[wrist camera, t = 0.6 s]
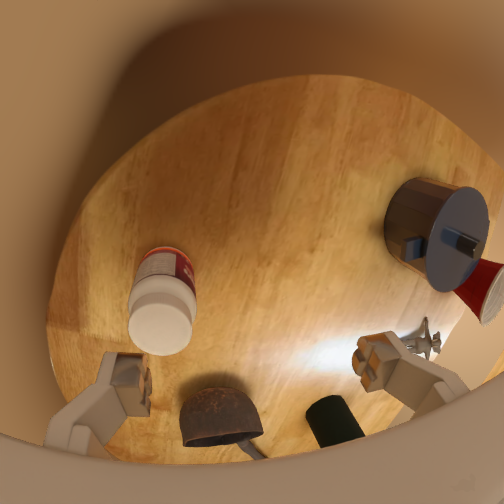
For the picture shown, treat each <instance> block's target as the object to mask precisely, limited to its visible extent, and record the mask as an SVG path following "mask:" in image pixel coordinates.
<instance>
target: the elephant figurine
mask: <svg viewBox="0 0 504 504" xmlns="http://www.w3.org/2000/svg"><path fill="white" fill-rule="evenodd" d="M402 343H403V344H404V345H405V346H407V345H410V346H407V347H412V348H409V349H408V350H409V351H410V353H415V354H421V353H423V352H424V353H425V357H426V359H427V360H429V356H430V351H431V347H433V350H434V352H437V353H438V354H440V351H441V350H440V345H441V340H440V332H439V331H438V332H437V333H436V334H434V335H433V340H431V337H430V334H429V329H428V320H427V317H426V318H425V337H424V338H421V337H417V338H415V339H413V340H406V341H402Z"/></svg>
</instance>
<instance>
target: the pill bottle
mask: <svg viewBox="0 0 504 504" xmlns="http://www.w3.org/2000/svg"><path fill="white" fill-rule="evenodd" d="M128 311H129V315H130V316H129V321H128V332H129V335H130V338H131V339H132V341H133V342H134V344H135V345H136V346H137V347H139V348H140V349H141V350H143V351H145V352H147V353H150V354H153V355H158V356H167V355H172V354H175V353H178V352H180V351H181V350H183V349H184V348H185V347H186V346H187V345H188V343H189V342H190V340H191V337H192V324H193V322H194V320H195V317H196V313H197V303H196V291H195V281H194V271H193V266H192V263H191V261H190V260H189V258H188V257H187V256H186V255H185V254H184V253H183V252H182V251H180V250H178V249H176V248H173V247H158V248H155V249H153V250H151V251H149V252H148V253H147V254H146V255H145V256H144V257H143V259H142V260H141V262H140V265H139V267H138V270H137V273H136V276H135V279H134V283H133V286H132V289H131V292H130V296H129V300H128Z"/></svg>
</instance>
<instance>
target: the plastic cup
mask: <svg viewBox="0 0 504 504" xmlns="http://www.w3.org/2000/svg"><path fill="white" fill-rule="evenodd" d="M453 291H454V292H455V293H456V294H457V295H458V296H459V297H460V298H461V299H462V300H463V301H464V302H465V304H466V305H467V306H468V307H469V308H470V309H471V310H472V312H474V314H475V315H476V316H477V317H478V319H479V321H480V324H481V325H482V326H483V327H485V326H487V325H489V324H490V323H491V322H492V321H493V320H494V319H495V317H496V316H497V314H498V313H499V311H500V310H501V308H502V306H503V304H504V264H500V263H495V262H492V261H488V260H485V259H482V258H480V260H479V262H478V264H477V266H476V267H475V269H474V271H473V272H472V274H471V275H470V276H469V277H468V278H467V280H466V281H465V282H464V283H462V284H461V285H460V286H459V287H457V288H456V289H454V290H453Z"/></svg>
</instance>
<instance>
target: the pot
mask: <svg viewBox="0 0 504 504" xmlns="http://www.w3.org/2000/svg"><path fill="white" fill-rule="evenodd" d="M458 188H460V187H458V186H454V185H451V184H447V183H444V182H440V181H437V180H433V179H429V178H414V179H411V180H409V181H407V182H406V183H405V184H403V185H402V186H401V187H400V188H399V189H398V191H397V192H396V193H395V195H394V196H393V198H392V200H391V202H390V204H389V207H388V209H387V213H386V217H385V223H384V236H385V242H386V245H387V248H388V250H389V252H390V253H391V254H392V256H393V257H394V258H396V259H397V260H398V261H399V262H400V263H402V264H403V265H405V266H406V267H408V268H409V269H411V270H412V271H414V272H415V273H417V274H418V275H420V276H421V277H423V278H424V279H426V277H425V273H424V266H423V257H424V248H425V242H426V238H427V234H428V231H429V228H430V225H431V223H432V220H433V218H434V216H435V214H436V212H437V210H438V208H439V207H440V205H441V204H442V202H443V201H444V200H445V199H446V197H447V196H448V195H449V194H450V193H452V192H453V191H454V190H456V189H458ZM489 223H490V221H489ZM488 230H489V224H488ZM487 236H488V234H487ZM426 280H427V279H426Z"/></svg>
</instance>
